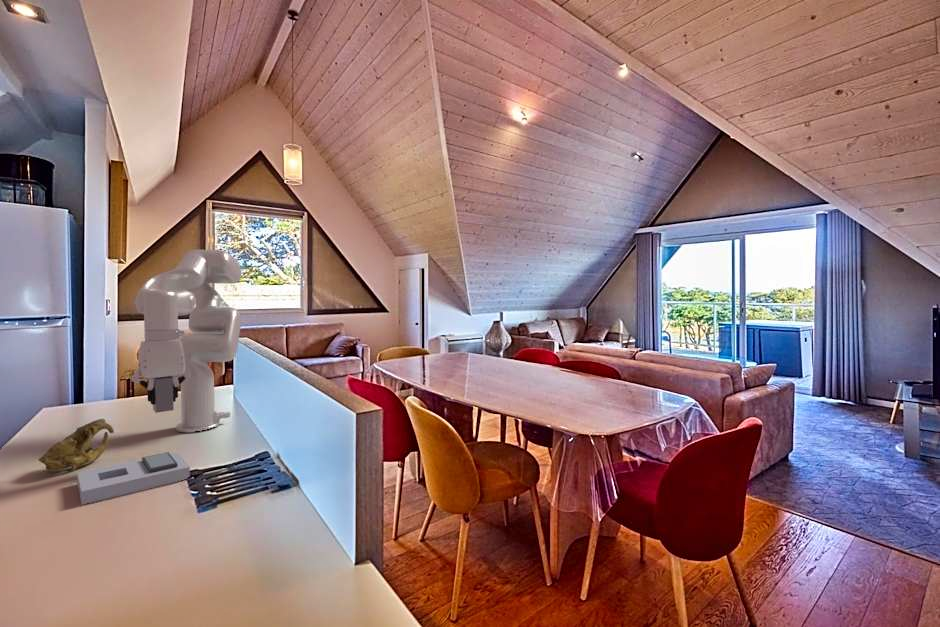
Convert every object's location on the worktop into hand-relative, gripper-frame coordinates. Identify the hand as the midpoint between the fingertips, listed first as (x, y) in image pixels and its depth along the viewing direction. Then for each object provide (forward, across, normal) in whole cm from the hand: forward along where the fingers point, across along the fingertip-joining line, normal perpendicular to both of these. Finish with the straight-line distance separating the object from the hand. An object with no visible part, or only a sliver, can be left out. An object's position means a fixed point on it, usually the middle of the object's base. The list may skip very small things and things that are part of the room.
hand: (163, 401), depth 121 cm
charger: (+2, 0, 0) cm, 2 cm away
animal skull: (+16, +17, -8) cm, 25 cm away
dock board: (+15, +8, +14) cm, 22 cm away
